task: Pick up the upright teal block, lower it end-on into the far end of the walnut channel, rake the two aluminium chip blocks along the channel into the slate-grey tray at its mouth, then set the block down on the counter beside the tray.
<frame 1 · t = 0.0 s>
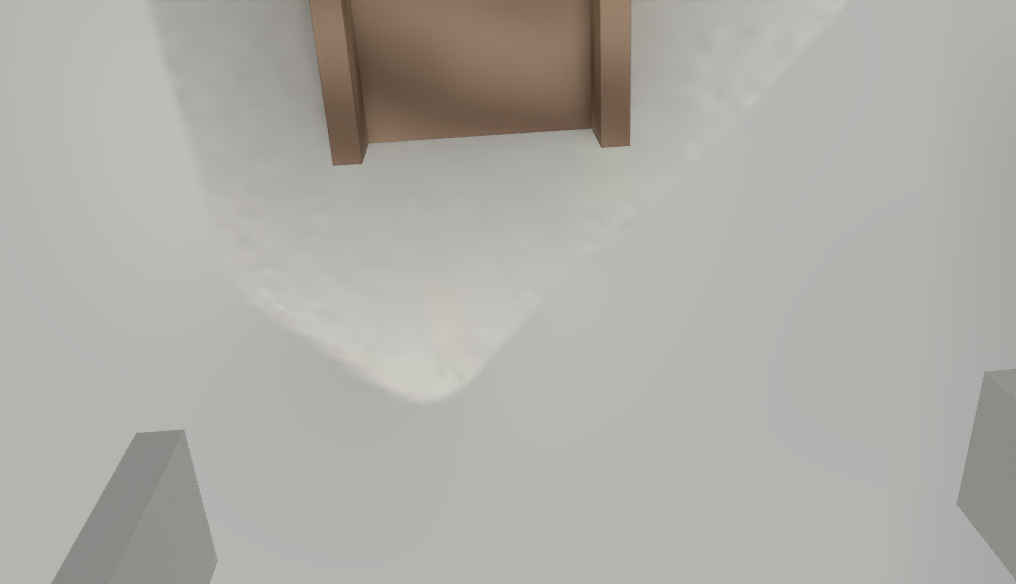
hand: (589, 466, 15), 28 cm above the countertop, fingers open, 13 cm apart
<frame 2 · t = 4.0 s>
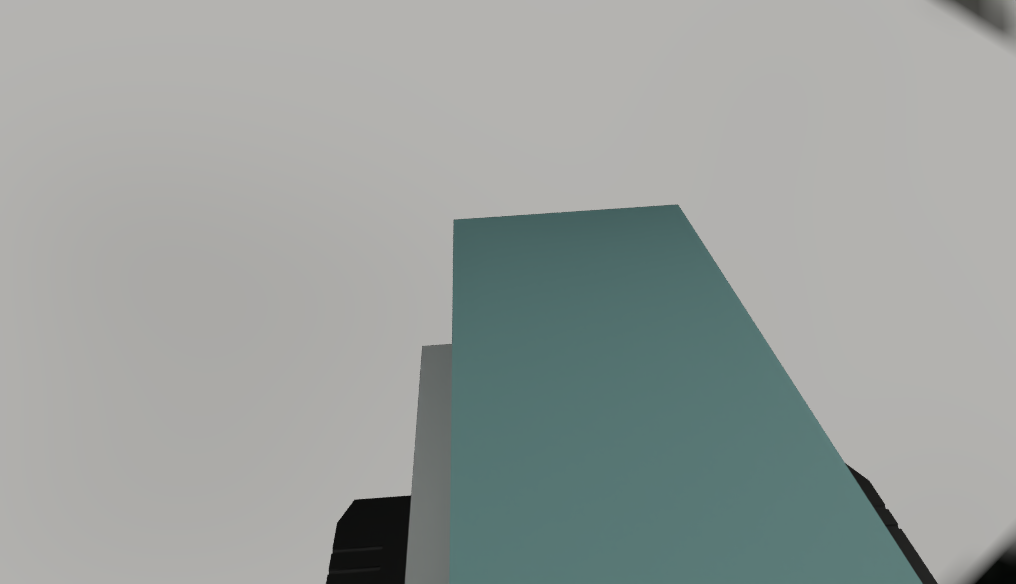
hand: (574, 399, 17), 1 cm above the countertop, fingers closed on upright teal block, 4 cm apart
upright teal block: (570, 380, 17), on the countertop, touching gripper
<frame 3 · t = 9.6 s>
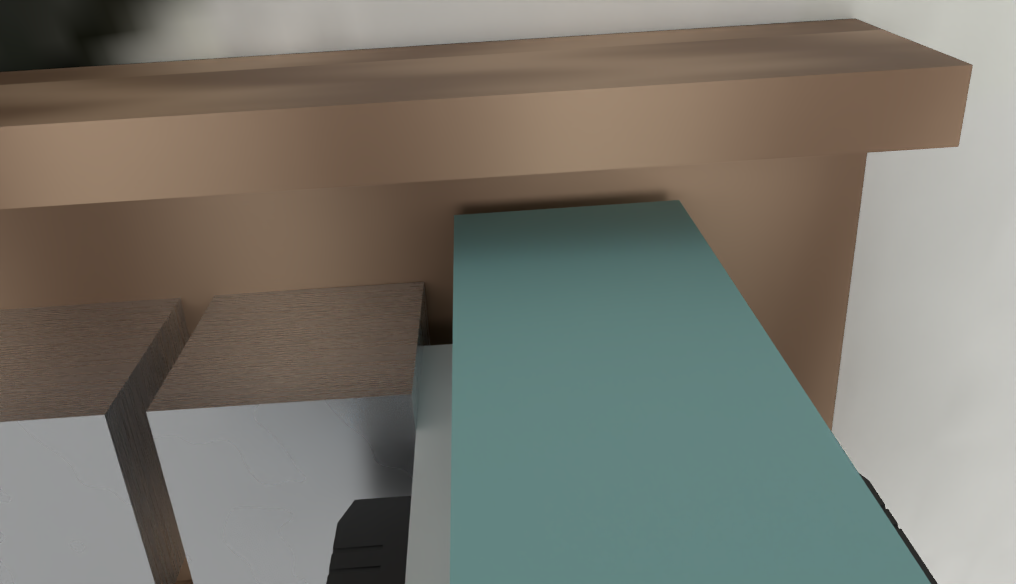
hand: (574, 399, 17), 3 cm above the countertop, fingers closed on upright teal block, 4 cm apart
channel: (404, 344, 19), on the countertop
chip a: (333, 377, 18), point 1 cm above the countertop, touching channel, gripper
upright teal block: (571, 376, 17), point 2 cm above the countertop, touching gripper
chip b: (101, 393, 18), point 1 cm above the countertop, touching channel
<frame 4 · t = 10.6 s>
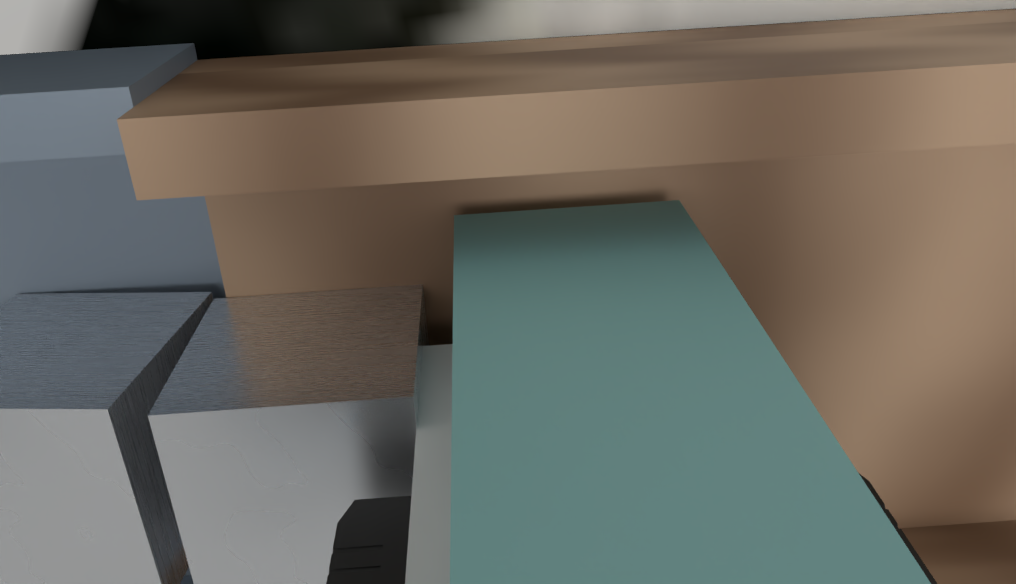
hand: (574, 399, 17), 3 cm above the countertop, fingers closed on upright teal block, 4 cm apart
channel: (676, 325, 19), on the countertop
chip a: (332, 380, 18), point 1 cm above the countertop, touching gripper
upright teal block: (571, 376, 17), point 2 cm above the countertop, touching gripper
chip b: (138, 380, 18), point 1 cm above the countertop, tilted 8°
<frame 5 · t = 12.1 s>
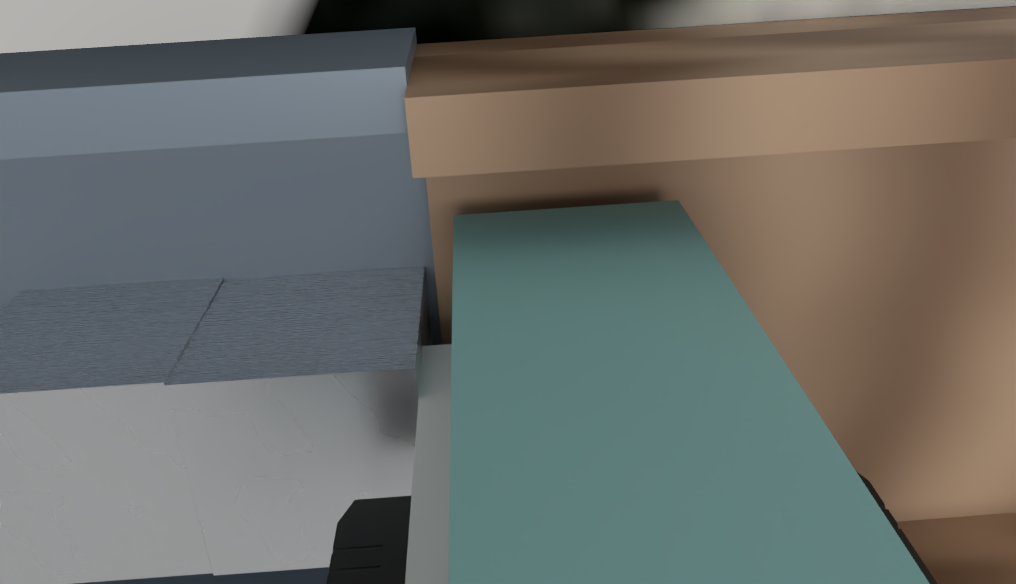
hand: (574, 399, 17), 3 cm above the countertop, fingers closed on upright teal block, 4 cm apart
channel: (857, 308, 19), on the countertop
chip a: (338, 359, 19), point 1 cm above the countertop, touching chip b, gripper, tray
upright teal block: (570, 377, 17), point 2 cm above the countertop, touching gripper
tray: (165, 357, 19), on the countertop
chip b: (145, 370, 19), resting on tray, touching chip a
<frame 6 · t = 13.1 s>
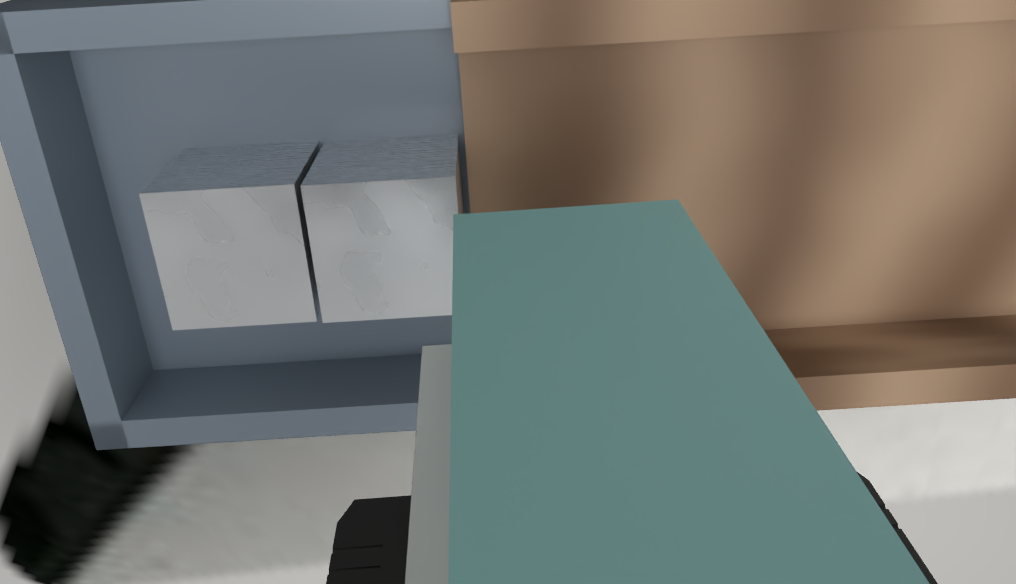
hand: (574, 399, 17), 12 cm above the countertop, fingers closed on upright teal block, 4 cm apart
channel: (756, 172, 28), on the countertop
chip a: (398, 201, 27), resting on tray
upright teal block: (570, 376, 17), point 12 cm above the countertop, touching gripper
tray: (278, 201, 28), on the countertop
chip b: (263, 207, 27), resting on tray
when the fingers open (2 cm above the countertop, at t = 16.9 s): upright teal block stays where it is, on the countertop.
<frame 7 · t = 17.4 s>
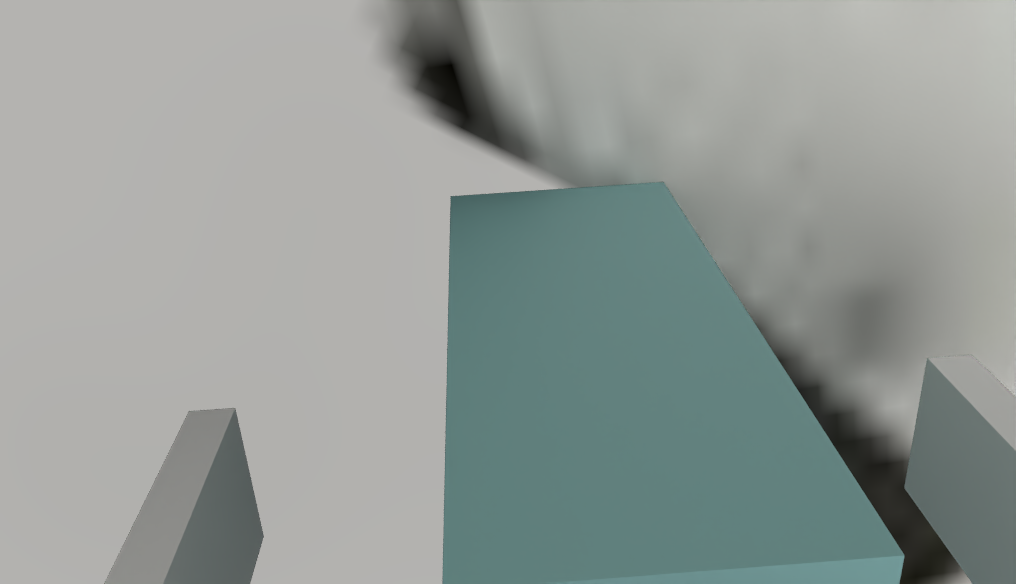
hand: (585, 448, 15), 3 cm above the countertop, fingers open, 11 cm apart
upright teal block: (562, 351, 18), on the countertop
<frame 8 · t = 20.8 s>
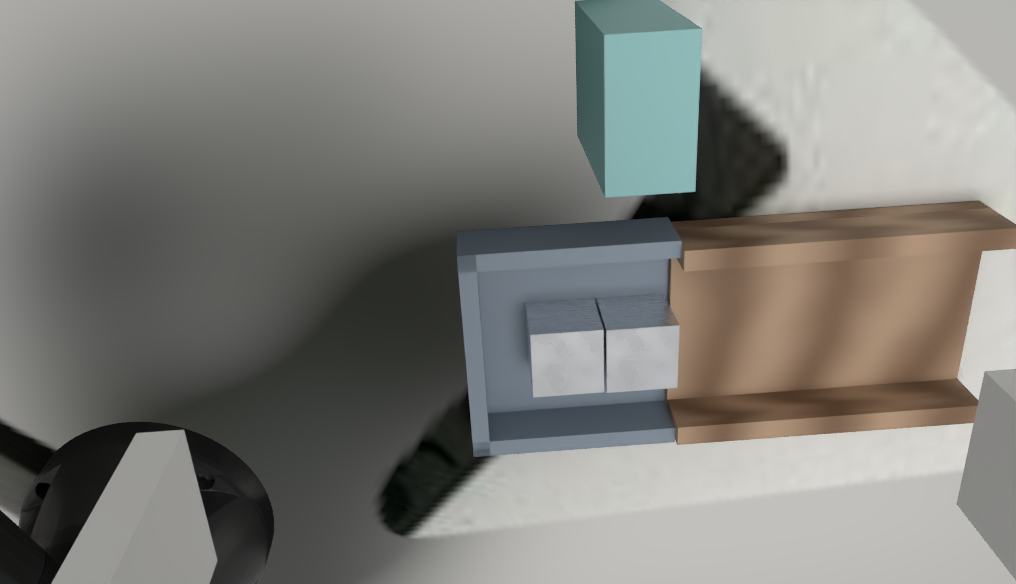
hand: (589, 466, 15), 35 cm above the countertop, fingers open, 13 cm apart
channel: (813, 307, 53), on the countertop
chip a: (629, 325, 53), resting on tray
upright teal block: (614, 67, 47), on the countertop
tray: (565, 325, 53), on the countertop
chip b: (560, 330, 53), resting on tray
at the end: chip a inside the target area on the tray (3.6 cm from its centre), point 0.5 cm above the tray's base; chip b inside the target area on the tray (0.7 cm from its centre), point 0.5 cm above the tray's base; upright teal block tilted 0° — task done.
